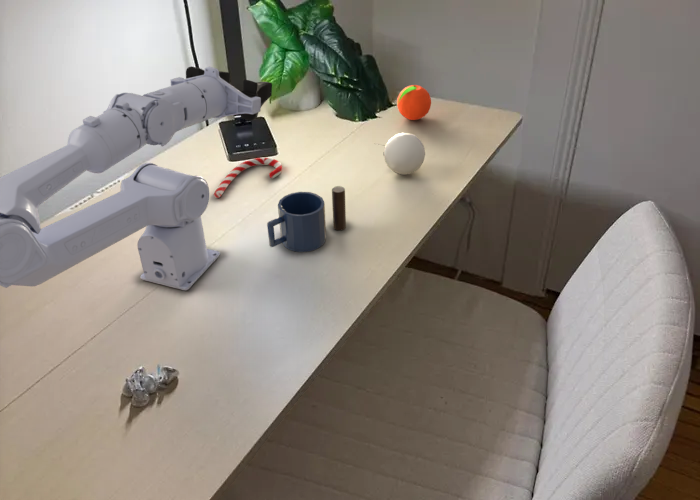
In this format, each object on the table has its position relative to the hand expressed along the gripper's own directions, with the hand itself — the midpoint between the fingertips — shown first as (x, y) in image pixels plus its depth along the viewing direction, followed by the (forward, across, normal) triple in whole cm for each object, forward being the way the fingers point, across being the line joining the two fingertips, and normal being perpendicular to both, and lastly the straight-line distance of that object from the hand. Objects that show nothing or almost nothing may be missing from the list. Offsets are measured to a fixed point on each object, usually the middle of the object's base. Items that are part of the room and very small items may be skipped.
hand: (248, 83), depth 103 cm
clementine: (+43, -10, +14) cm, 46 cm away
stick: (+2, -17, +20) cm, 26 cm away
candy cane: (+7, +5, +20) cm, 22 cm away
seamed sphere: (+23, -17, +17) cm, 33 cm away
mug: (-5, -13, +21) cm, 25 cm away
